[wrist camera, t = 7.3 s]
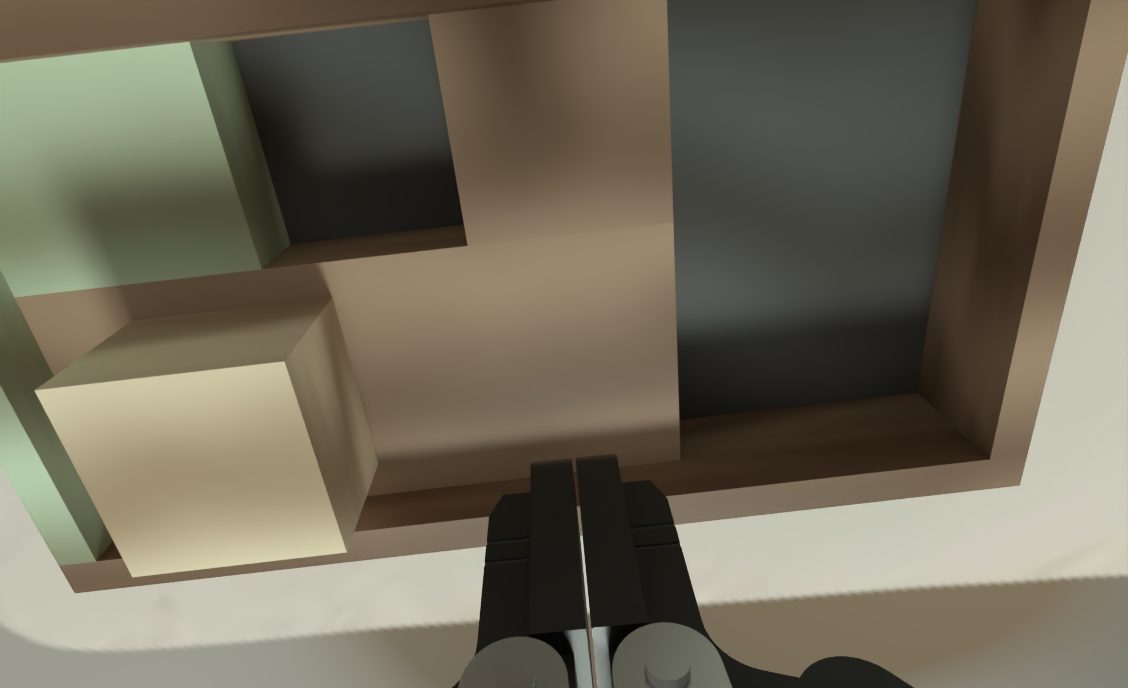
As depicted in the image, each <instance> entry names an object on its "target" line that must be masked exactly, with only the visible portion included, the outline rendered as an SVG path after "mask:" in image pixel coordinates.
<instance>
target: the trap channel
mask: <svg viewBox="0 0 1128 688" xmlns="http://www.w3.org/2000/svg"><path fill="white" fill-rule="evenodd" d="M1127 52H1128V0H0V465H1V467H2V468H3V470H4V472H5V474H6V475H7V477H8V479H9V480H10V482H11V484H12V486H13V487H14V489H15V491H16V493H17V494H18V496H19V498H20V499H21V501H22V503H23V505H24V506H25V508H26V510H27V511H28V513H29V515H30V517H31V518H32V520H33V522H34V524H35V525H36V527H37V529H38V530H39V532H40V534H41V536H42V537H43V539H44V541H45V542H46V544H47V546H48V548H49V549H50V551H51V553H52V554H53V556H54V558H55V560H56V561H57V563H58V565H59V567H60V568H61V570H62V572H63V573H64V575H65V577H66V579H67V580H68V582H69V584H70V585H71V587H72V589H73V591H74V592H75V593H81V592H90V591H99V590H107V589H116V588H125V587H134V586H142V585H151V584H160V583H169V582H177V581H186V580H195V579H204V578H213V577H221V576H230V575H239V574H248V573H256V572H265V571H274V570H283V569H291V568H300V567H309V566H318V565H326V564H335V563H344V562H353V561H361V560H370V559H379V558H388V557H396V556H405V555H414V554H423V553H431V552H440V551H449V550H458V549H466V548H475V547H484V546H487V532H488V521H489V516H490V514H491V513H492V511H493V509H494V508H495V506H496V505H497V503H498V502H499V500H500V498H501V497H502V495H505V494H515V493H525V492H530V468H531V462H538V461H548V460H558V459H568V458H572V465H573V475H574V484H575V494H576V503H577V513H578V522H579V532H580V535H583V533H582V523H581V512H580V502H579V491H578V480H577V470H576V459H575V458H576V457H586V456H596V455H606V454H616V455H617V460H618V465H619V470H620V475H621V481H622V483H623V482H634V481H644V480H650V481H651V482H652V483H653V484H654V485H655V486H656V487H657V488H658V489H659V490H660V491H661V492H662V493H663V494H664V495H665V497H666V498H667V499H668V502H669V506H670V509H671V513H672V516H673V520H674V525H677V524H685V523H694V522H703V521H712V520H720V519H729V518H738V517H747V516H756V515H764V514H773V513H782V512H791V511H799V510H808V509H817V508H826V507H834V506H843V505H852V504H861V503H869V502H878V501H887V500H896V499H904V498H913V497H922V496H931V495H939V494H948V493H957V492H966V491H974V490H983V489H992V488H1001V487H1009V486H1018V485H1020V482H1021V478H1022V474H1023V470H1024V466H1025V462H1026V458H1027V454H1028V450H1029V446H1030V442H1031V438H1032V434H1033V430H1034V426H1035V422H1036V418H1037V414H1038V410H1039V406H1040V402H1041V397H1042V393H1043V389H1044V385H1045V381H1046V377H1047V373H1048V369H1049V365H1050V361H1051V357H1052V353H1053V349H1054V345H1055V341H1056V337H1057V333H1058V329H1059V325H1060V321H1061V317H1062V313H1063V309H1064V305H1065V301H1066V297H1067V293H1068V289H1069V285H1070V281H1071V277H1072V273H1073V269H1074V265H1075V261H1076V257H1077V253H1078V249H1079V245H1080V241H1081V237H1082V233H1083V229H1084V225H1085V221H1086V217H1087V213H1088V209H1089V205H1090V201H1091V197H1092V193H1093V189H1094V185H1095V181H1096V177H1097V173H1098V169H1099V165H1100V161H1101V157H1102V153H1103V149H1104V145H1105V141H1106V137H1107V133H1108V129H1109V125H1110V121H1111V117H1112V113H1113V109H1114V105H1115V101H1116V96H1117V92H1118V88H1119V84H1120V80H1121V76H1122V72H1123V68H1124V64H1125V60H1126V56H1127ZM325 298H333V301H334V305H335V308H336V312H337V316H338V319H339V323H340V326H341V330H342V334H343V337H344V341H345V344H346V348H347V352H348V355H349V359H350V362H351V366H352V370H353V373H354V377H355V381H356V384H357V388H358V391H359V395H360V399H361V402H362V406H363V409H364V413H365V417H366V420H367V424H368V427H369V431H370V435H371V438H372V442H373V445H374V449H375V453H376V456H377V460H378V466H377V468H376V471H375V474H374V477H373V480H372V483H371V485H370V488H369V491H368V494H367V497H366V500H365V502H364V505H363V508H362V511H361V514H360V517H359V519H358V522H357V525H356V528H355V531H354V534H353V536H352V539H351V542H350V545H349V548H348V551H347V553H338V554H329V555H321V556H312V557H304V558H295V559H286V560H278V561H269V562H261V563H252V564H243V565H235V566H226V567H217V568H209V569H200V570H192V571H183V572H174V573H166V574H157V575H149V576H140V577H132V576H131V574H130V572H129V570H128V568H127V566H126V564H125V562H124V560H123V558H122V556H121V555H120V553H119V551H118V549H117V547H116V545H115V543H114V541H113V539H112V537H111V536H110V534H109V532H108V530H107V528H106V526H105V524H104V522H103V520H102V518H101V517H100V515H99V513H98V511H97V509H96V507H95V505H94V503H93V501H92V499H91V497H90V496H89V494H88V492H87V490H86V488H85V486H84V484H83V482H82V480H81V478H80V477H79V475H78V473H77V471H76V469H75V467H74V465H73V463H72V461H71V459H70V457H69V456H68V454H67V452H66V450H65V448H64V446H63V444H62V442H61V440H60V438H59V437H58V435H57V433H56V431H55V429H54V427H53V425H52V423H51V421H50V419H49V417H48V416H47V414H46V412H45V410H44V408H43V406H42V404H41V402H40V400H39V398H38V397H37V395H36V393H35V391H34V390H36V389H37V388H38V387H40V386H41V385H43V384H44V383H45V382H47V381H48V380H50V379H51V378H52V377H54V376H55V375H57V374H58V373H59V372H61V371H62V370H64V369H65V368H66V367H68V366H69V365H71V364H72V363H73V362H75V361H76V360H78V359H79V358H80V357H82V356H83V355H85V354H86V353H87V352H89V351H90V350H92V349H93V348H94V347H96V346H97V345H99V344H100V343H101V342H103V341H104V340H106V339H107V338H108V337H110V336H111V335H113V334H114V333H115V332H117V331H118V330H120V329H121V328H122V327H124V326H125V325H127V324H128V323H129V322H131V321H135V320H144V319H153V318H161V317H170V316H178V315H187V314H196V313H204V312H213V311H222V310H230V309H239V308H247V307H256V306H265V305H273V304H282V303H290V302H299V301H308V300H316V299H325Z"/></svg>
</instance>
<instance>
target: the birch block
mask: <svg viewBox="0 0 1128 688" xmlns="http://www.w3.org/2000/svg"><path fill="white" fill-rule="evenodd" d="M34 391H35V393H36V395H37V397H38V398H39V400H40V402H41V404H42V406H43V408H44V410H45V412H46V414H47V416H48V417H49V419H50V421H51V423H52V425H53V427H54V429H55V431H56V433H57V435H58V437H59V438H60V440H61V442H62V444H63V446H64V448H65V450H66V452H67V454H68V456H69V457H70V459H71V461H72V463H73V465H74V467H75V469H76V471H77V473H78V475H79V477H80V478H81V480H82V482H83V484H84V486H85V488H86V490H87V492H88V494H89V496H90V497H91V499H92V501H93V503H94V505H95V507H96V509H97V511H98V513H99V515H100V517H101V518H102V520H103V522H104V524H105V526H106V528H107V530H108V532H109V534H110V536H111V537H112V539H113V541H114V543H115V545H116V547H117V549H118V551H119V553H120V555H121V556H122V558H123V560H124V562H125V564H126V566H127V568H128V570H129V572H130V574H131V576H132V577H140V576H149V575H157V574H166V573H174V572H183V571H192V570H200V569H209V568H217V567H226V566H235V565H243V564H252V563H261V562H269V561H278V560H286V559H295V558H304V557H312V556H321V555H329V554H338V553H347V551H348V548H349V545H350V542H351V539H352V536H353V534H354V531H355V528H356V525H357V522H358V519H359V517H360V514H361V511H362V508H363V505H364V502H365V500H366V497H367V494H368V491H369V488H370V485H371V483H372V480H373V477H374V474H375V471H376V468H377V466H378V460H377V456H376V453H375V449H374V445H373V442H372V438H371V435H370V431H369V427H368V424H367V420H366V417H365V413H364V409H363V406H362V402H361V399H360V395H359V391H358V388H357V384H356V381H355V377H354V373H353V370H352V366H351V362H350V359H349V355H348V352H347V348H346V344H345V341H344V337H343V334H342V330H341V326H340V323H339V319H338V316H337V312H336V308H335V305H334V301H333V298H325V299H316V300H308V301H299V302H290V303H282V304H273V305H265V306H256V307H247V308H239V309H230V310H222V311H213V312H204V313H196V314H187V315H178V316H170V317H161V318H153V319H144V320H135V321H131V322H129V323H128V324H127V325H125V326H124V327H122V328H121V329H120V330H118V331H117V332H115V333H114V334H113V335H111V336H110V337H108V338H107V339H106V340H104V341H103V342H101V343H100V344H99V345H97V346H96V347H94V348H93V349H92V350H90V351H89V352H87V353H86V354H85V355H83V356H82V357H80V358H79V359H78V360H76V361H75V362H73V363H72V364H71V365H69V366H68V367H66V368H65V369H64V370H62V371H61V372H59V373H58V374H57V375H55V376H54V377H52V378H51V379H50V380H48V381H47V382H45V383H44V384H43V385H41V386H40V387H38V388H37V389H36V390H34Z"/></svg>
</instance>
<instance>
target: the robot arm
mask: <svg viewBox="0 0 1128 688" xmlns="http://www.w3.org/2000/svg"><path fill="white" fill-rule="evenodd" d="M575 459H576V470H577V480H578V491H579V502H580V512H581V523H582V533H583V544H584V554H585V565H586V575H587V586H588V596H589V607H590V617H591V628H592V637H593V647H594V657H595V667H596V676H597V685H598V688H913V687H912V686H910V685H909V684H907V683H906V682H904V681H902V680H901V679H900V678H898V677H896V676H895V675H893V674H892V673H890V672H889V671H887V670H885V669H883V668H882V667H880V666H878V665H876V664H873V663H871V662H868V661H865V660H862V659H859V658H853V657H843V656H836V657H829V658H825V659H822V660H819V661H817V662H815V663H813V664H812V665H810V666H809V667H808V668H807V669H806V670H805V671H804V672H803V674H802V675H801V677H800V678H798V677H793V676H787V675H783V674H778V673H773V672H768V671H764V670H759V669H756V668H752V667H750V666H747V665H744V664H742V663H740V662H738V661H736V660H735V659H733V658H731V657H730V656H728V655H727V654H726V653H724V652H723V651H722V650H721V649H720V648H719V647H718V646H717V645H716V644H715V643H714V642H713V641H712V639H711V638H710V637H709V635H708V633H707V632H706V630H705V628H704V625H703V623H702V620H701V616H700V613H699V609H698V606H697V602H696V598H695V595H694V591H693V588H692V584H691V581H690V577H689V573H688V570H687V566H686V563H685V559H684V556H683V552H682V548H681V547H680V541H679V538H678V534H677V531H676V527H675V526H674V520H673V516H672V513H671V509H670V506H669V502H668V499H667V498H666V497H665V495H664V494H663V493H662V492H661V491H660V490H659V489H658V488H657V487H656V486H655V485H654V484H653V483H652V482H651V481H650V480H644V481H634V482H623V483H622V481H621V475H620V470H619V465H618V460H617V455H616V454H606V455H596V456H586V457H576V458H575ZM452 688H594V686H593V675H592V664H591V652H590V641H589V631H588V619H587V608H586V596H585V585H584V574H583V563H582V552H581V542H580V532H579V522H578V513H577V503H576V494H575V484H574V475H573V465H572V458H568V459H558V460H548V461H538V462H531V468H530V492H525V493H515V494H505V495H502V497H501V498H500V500H499V502H498V503H497V505H496V506H495V508H494V509H493V511H492V513H491V514H490V516H489V521H488V532H487V546H486V554H485V566H484V576H483V587H482V598H481V609H480V620H479V631H478V642H477V648H476V653H475V656H474V658H472V660H470V662H469V663H468V665H467V666H466V668H465V669H464V671H463V674H462V676H461V678H460V680H459V681H458V683H457V684H456V685H455V686H453V687H452Z"/></svg>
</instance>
